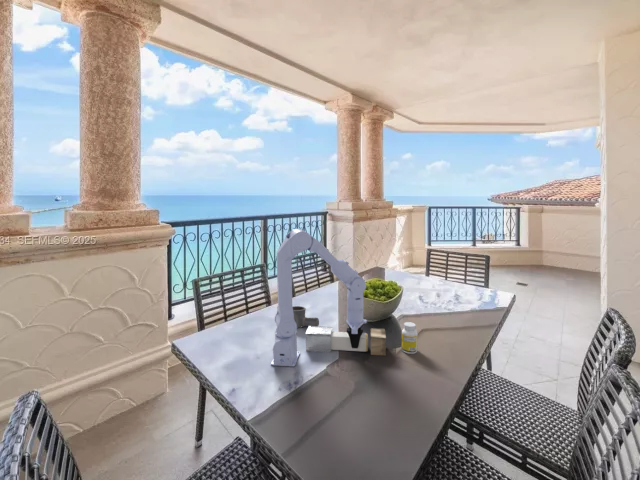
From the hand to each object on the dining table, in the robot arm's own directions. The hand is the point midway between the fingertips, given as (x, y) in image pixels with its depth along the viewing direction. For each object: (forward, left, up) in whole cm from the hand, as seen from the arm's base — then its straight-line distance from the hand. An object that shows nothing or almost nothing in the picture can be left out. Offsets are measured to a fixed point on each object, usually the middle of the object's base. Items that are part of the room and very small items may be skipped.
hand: (355, 344), depth 115 cm
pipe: (+18, +22, -2) cm, 28 cm away
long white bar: (0, +4, -1) cm, 4 cm away
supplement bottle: (+1, -19, -2) cm, 19 cm away
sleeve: (0, +12, -2) cm, 13 cm away
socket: (0, -8, -2) cm, 8 cm away
